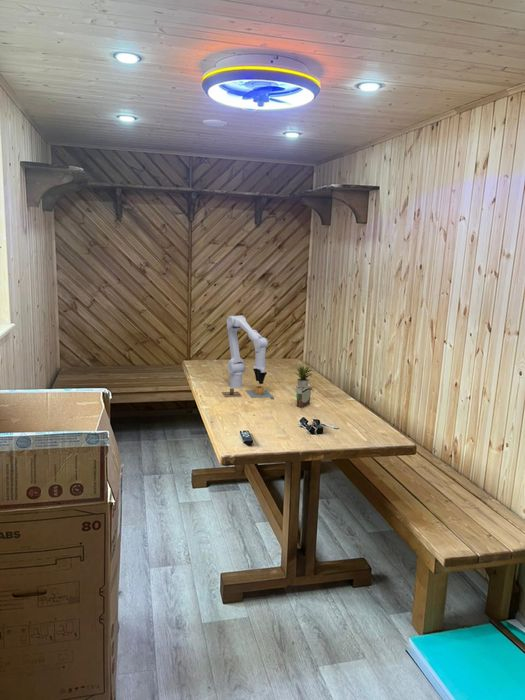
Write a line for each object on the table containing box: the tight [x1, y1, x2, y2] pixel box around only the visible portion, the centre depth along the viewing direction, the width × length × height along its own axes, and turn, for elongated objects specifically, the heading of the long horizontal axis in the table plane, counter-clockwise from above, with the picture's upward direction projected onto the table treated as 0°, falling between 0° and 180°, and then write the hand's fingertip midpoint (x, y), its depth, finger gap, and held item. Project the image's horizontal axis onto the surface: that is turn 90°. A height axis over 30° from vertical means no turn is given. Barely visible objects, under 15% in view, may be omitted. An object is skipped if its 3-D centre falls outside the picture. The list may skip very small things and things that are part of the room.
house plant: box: [294, 363, 316, 387], centre depth 330 cm, size 14×14×16 cm
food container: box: [294, 385, 312, 409], centre depth 295 cm, size 12×6×10 cm, turn 149°
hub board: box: [244, 389, 275, 400], centre depth 313 cm, size 18×13×4 cm
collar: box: [253, 385, 265, 395], centre depth 313 cm, size 6×6×4 cm
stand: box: [221, 387, 243, 398], centre depth 310 cm, size 12×10×4 cm
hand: (259, 382), depth 312 cm, fingers open, 7 cm apart
